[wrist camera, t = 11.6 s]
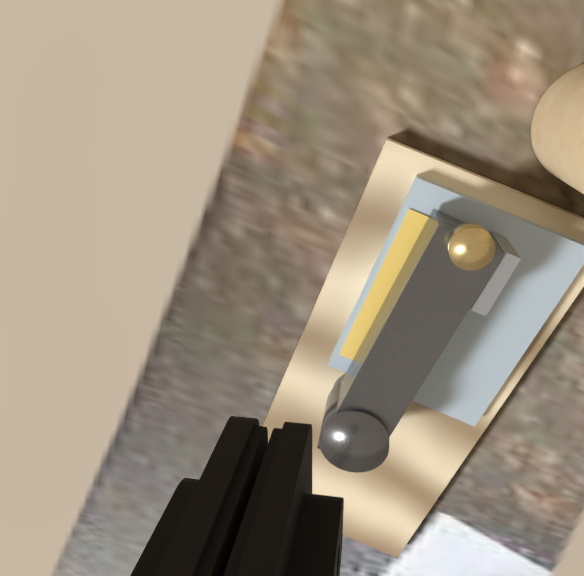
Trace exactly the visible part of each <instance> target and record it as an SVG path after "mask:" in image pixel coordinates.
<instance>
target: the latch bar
mask: <svg viewBox="0 0 584 576" xmlns="http://www.w3.org/2000/svg"><path fill="white" fill-rule="evenodd" d="M503 254H504V253H503V251H502V250H501V248H500V247H499V245H498V243H497V242H496V240H495V239H494V237H493V235H492V234H491V233H489V232H488V231H487V229H486V228H484V227H483V226H481V225H479V224H476V223H466V222H464V221H461V220H459V219H457V218H454V217H452V216H450V215H448V214H445V213H443V212H441V211H438V210H436V209H434V208H433V210H432V212H431V214H430V216H429V218H428V220H427V222H426V224H425V225H424V227H423V229H422V231H421V233H420V235H419V237H418V239H417V240H416V242H415V244H414V246H413V248H412V250H411V252H410V254H409V255H408V257H407V259H406V261H405V263H404V265H403V267H402V269H401V270H400V272H399V274H398V276H397V278H396V280H395V282H394V284H393V285H392V287H391V289H390V291H389V293H388V295H387V297H386V299H385V300H384V302H383V304H382V306H381V308H380V310H379V312H378V314H377V315H376V317H375V319H374V321H373V323H372V325H371V327H370V329H369V331H368V332H367V334H366V336H365V338H364V340H363V342H362V344H361V346H360V347H359V349H358V351H357V353H356V355H355V357H354V359H353V361H352V362H351V364H350V366H349V368H348V370H347V372H346V374H345V376H344V377H343V379H342V381H341V383H339V384H337V385H336V386H335V387H334V388H333V389H332V390H331V391H330V393H329V395H328V398H327V402H326V407H325V412H324V416H323V421H322V426H321V431H320V436H319V441H318V446H317V448H318V449H320V450H321V452H322V454H323V455H324V457H325V458H326V459H327V460H328V461H329V462H330V463H331V464H332V465H334V466H335V467H337V468H339V469H342V470H344V471H348V472H356V473H360V472H367V471H371V470H373V469H375V468H377V467H378V466H380V465H381V464H382V463H383V462H384V461H385V459H386V458H387V456H388V453H389V437H390V436H391V434H392V432H393V431H394V429H395V428H396V426H397V424H398V423H399V421H400V420H401V418H402V416H403V415H404V413H405V412H406V410H407V408H408V407H409V405H410V404H411V402H412V400H413V399H414V397H415V396H416V394H417V392H418V391H419V389H420V387H421V386H422V384H423V383H424V381H425V379H426V378H427V376H428V375H429V373H430V371H431V370H432V368H433V367H434V365H435V363H436V362H437V360H438V359H439V357H440V355H441V354H442V352H443V351H444V349H445V347H446V346H447V344H448V343H449V341H450V339H451V338H452V336H453V335H454V333H455V331H456V330H457V328H458V327H459V325H460V323H461V322H462V320H463V319H464V317H465V315H466V314H467V312H468V311H469V309H470V307H471V306H472V304H473V302H474V301H475V299H476V298H477V296H478V294H479V293H480V291H481V290H482V288H483V286H484V285H485V283H486V282H487V280H488V278H489V277H490V275H491V274H492V272H493V270H494V269H495V267H496V266H497V264H498V262H499V261H500V259H501V258H502V256H503Z"/></svg>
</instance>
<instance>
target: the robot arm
mask: <svg viewBox="0 0 584 576" xmlns="http://www.w3.org/2000/svg"><path fill="white" fill-rule="evenodd" d="M343 510H344V498H342V497H334V496H326V495H318V494H312V425H311V424H305V423H295V422H284V424H283V427H282V429H281V428H274V429H273V431H272V434H271V437H270V439H269V442H268V430H267V427H262V426H259V421H258V419H255V418H245V417H235V416H231V417H230V418H229V420H228V421H227V423H226V426H225V428H224V430H223V432H222V434H221V436H220V438H219V440H218V442H217V444H216V446H215V448H214V451H213V453H212V455H211V457H210V459H209V461H208V463H207V465H206V467H205V469H204V471H203V473H202V476H201V478H200V480H198V479H190V478H184V479H183V480H182V481H181V482H180V483H179V485H178V486H177V488H176V490H175V492H174V494H173V496H172V498H171V500H170V502H169V503H168V505H167V507H166V509H165V511H164V513H163V515H162V517H161V519H160V521H159V522H158V524H157V526H156V528H155V530H154V532H153V534H152V536H151V538H150V540H149V541H148V543H147V545H146V547H145V549H144V551H143V553H142V555H141V557H140V559H139V560H138V562H137V564H136V566H135V568H134V570H133V572H132V574H131V576H339V574H340V563H341V551H342V536H343Z"/></svg>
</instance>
